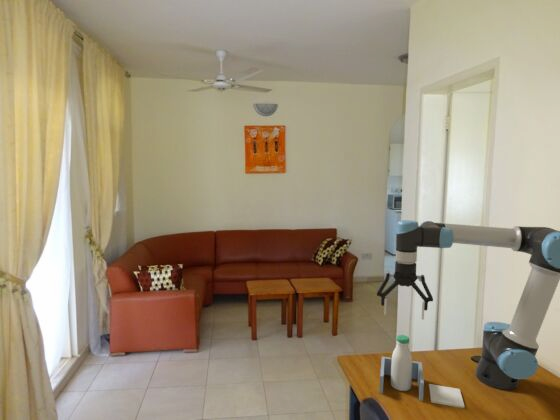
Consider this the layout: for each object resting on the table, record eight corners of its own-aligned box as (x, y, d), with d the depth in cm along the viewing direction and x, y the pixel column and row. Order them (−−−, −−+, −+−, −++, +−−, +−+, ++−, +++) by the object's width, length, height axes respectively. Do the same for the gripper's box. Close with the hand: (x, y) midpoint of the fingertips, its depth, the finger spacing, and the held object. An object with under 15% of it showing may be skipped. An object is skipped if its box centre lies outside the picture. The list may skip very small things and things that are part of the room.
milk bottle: (412, 392, 143) (415, 342, 141) (391, 390, 144) (393, 340, 142) (409, 381, 150) (412, 333, 148) (389, 379, 152) (391, 331, 150)
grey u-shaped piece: (420, 378, 152) (421, 362, 152) (422, 401, 138) (423, 383, 137) (381, 372, 157) (381, 356, 156) (379, 393, 142) (380, 375, 142)
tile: (459, 390, 144) (459, 388, 144) (464, 408, 134) (464, 406, 134) (428, 385, 148) (428, 383, 147) (431, 402, 137) (431, 400, 137)
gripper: (440, 261, 142) (437, 316, 144) (372, 256, 149) (370, 308, 151) (442, 266, 134) (439, 323, 137) (371, 261, 142) (369, 315, 144)
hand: (403, 315), depth 144 cm, fingers open, 13 cm apart
